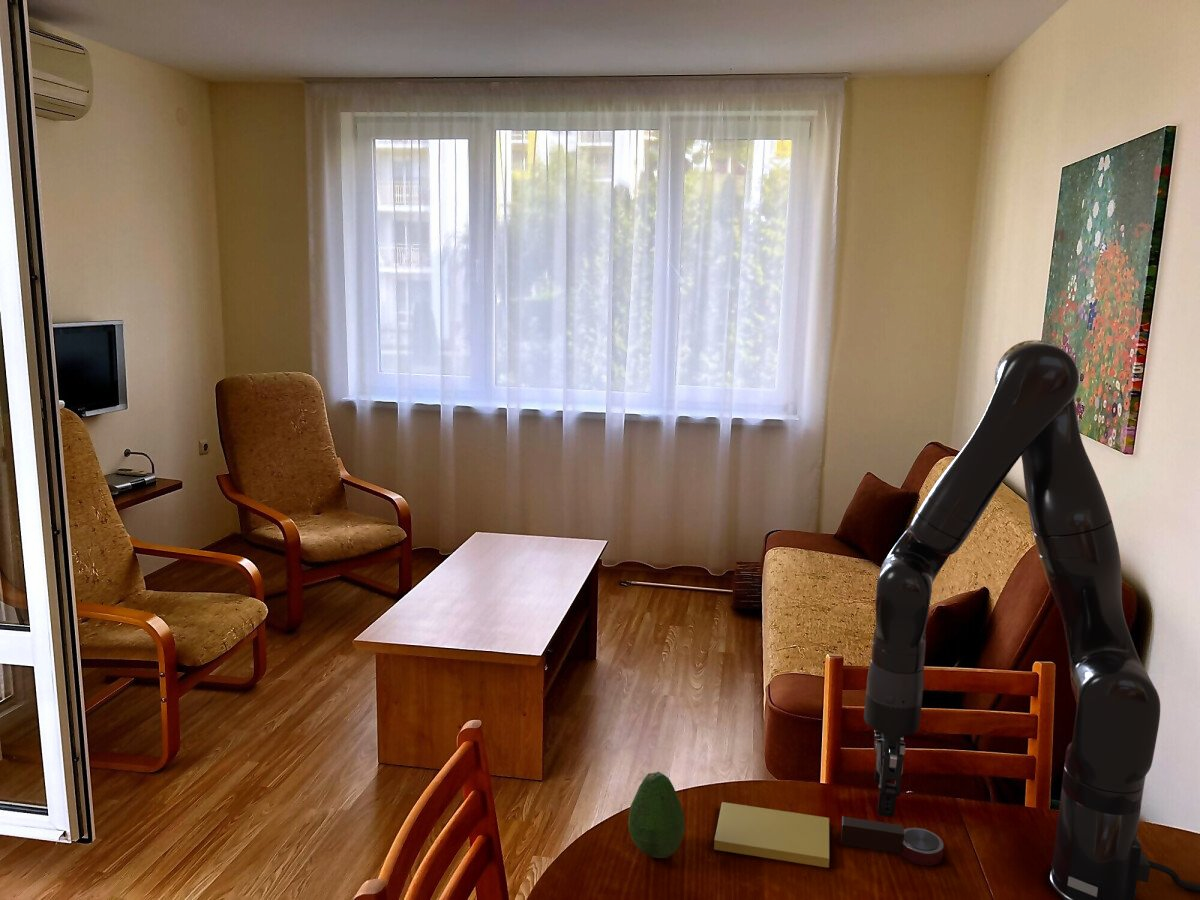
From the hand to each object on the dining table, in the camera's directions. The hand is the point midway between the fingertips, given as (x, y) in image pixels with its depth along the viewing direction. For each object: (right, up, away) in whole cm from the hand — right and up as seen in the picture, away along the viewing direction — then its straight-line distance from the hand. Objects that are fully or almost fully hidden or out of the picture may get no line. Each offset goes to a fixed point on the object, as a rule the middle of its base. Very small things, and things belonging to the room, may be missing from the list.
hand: (883, 798), depth 130 cm
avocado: (-33, -8, -1) cm, 34 cm away
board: (-15, -7, +3) cm, 17 cm away
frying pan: (+1, -8, +1) cm, 8 cm away
